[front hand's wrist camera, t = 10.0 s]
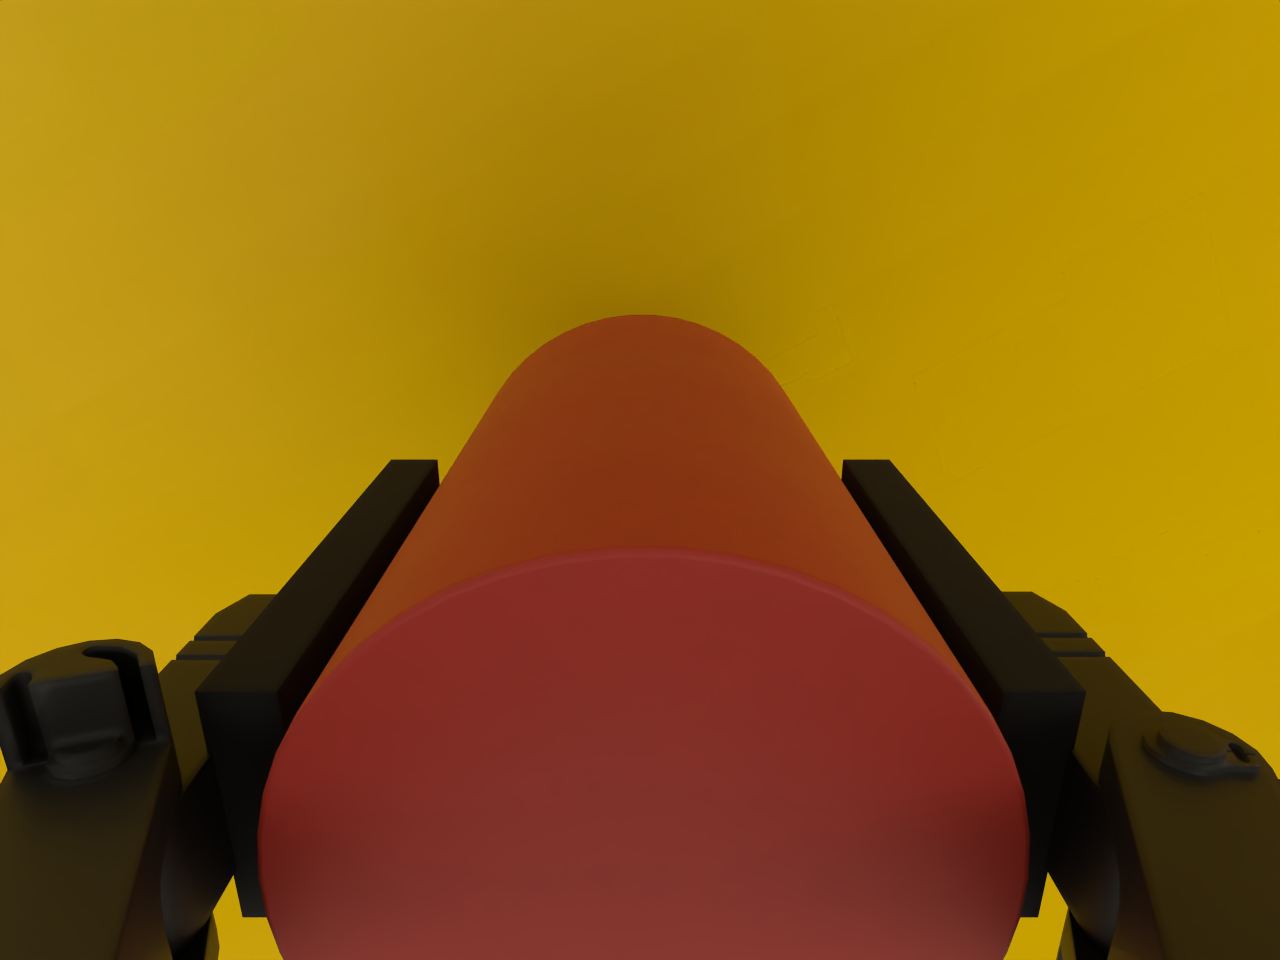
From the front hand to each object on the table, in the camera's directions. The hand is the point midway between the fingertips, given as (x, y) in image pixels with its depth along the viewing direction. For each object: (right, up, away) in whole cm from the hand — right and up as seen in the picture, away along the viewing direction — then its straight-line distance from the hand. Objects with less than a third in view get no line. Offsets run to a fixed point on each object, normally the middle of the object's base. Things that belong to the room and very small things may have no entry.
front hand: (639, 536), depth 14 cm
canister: (0, +1, +3) cm, 3 cm away
